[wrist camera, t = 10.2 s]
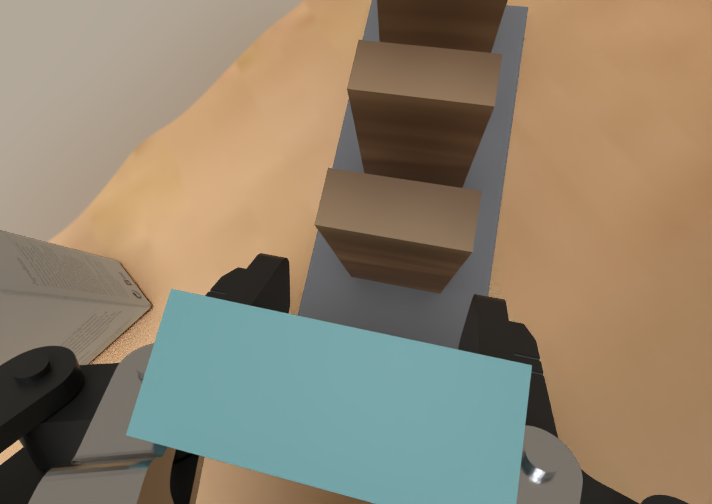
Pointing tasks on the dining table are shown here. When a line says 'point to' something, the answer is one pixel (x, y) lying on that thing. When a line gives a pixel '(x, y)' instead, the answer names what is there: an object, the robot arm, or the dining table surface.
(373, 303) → the domino mat
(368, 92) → the domino
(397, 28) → the domino
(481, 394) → the domino
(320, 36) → the dining table surface
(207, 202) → the dining table surface
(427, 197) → the domino
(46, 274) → the skincare box
